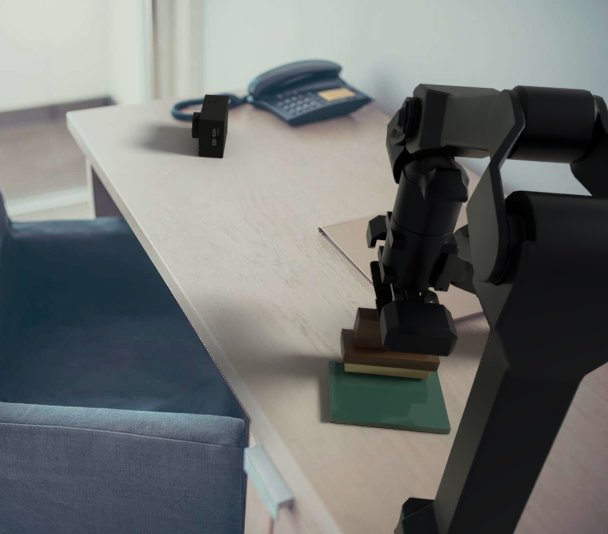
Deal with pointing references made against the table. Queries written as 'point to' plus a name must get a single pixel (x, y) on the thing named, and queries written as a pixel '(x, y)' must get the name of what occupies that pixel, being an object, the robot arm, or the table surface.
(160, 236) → the table surface
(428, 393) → the tile
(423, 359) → the brush
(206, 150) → the digital camera
